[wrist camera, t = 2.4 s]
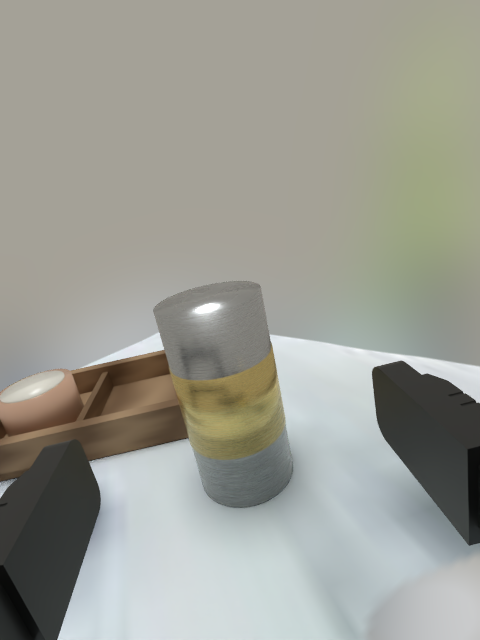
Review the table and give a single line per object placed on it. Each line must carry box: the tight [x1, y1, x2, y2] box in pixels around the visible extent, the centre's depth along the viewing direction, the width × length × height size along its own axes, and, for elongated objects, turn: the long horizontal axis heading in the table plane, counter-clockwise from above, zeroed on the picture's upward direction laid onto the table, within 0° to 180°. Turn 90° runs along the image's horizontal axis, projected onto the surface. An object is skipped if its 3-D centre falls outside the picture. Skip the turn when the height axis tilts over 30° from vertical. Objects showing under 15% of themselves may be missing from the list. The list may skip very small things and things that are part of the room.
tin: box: [153, 281, 293, 508], centre depth 22 cm, size 6×6×12 cm
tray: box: [0, 350, 188, 481], centre depth 34 cm, size 20×12×3 cm, turn 96°
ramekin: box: [0, 369, 84, 437], centre depth 33 cm, size 6×6×4 cm
